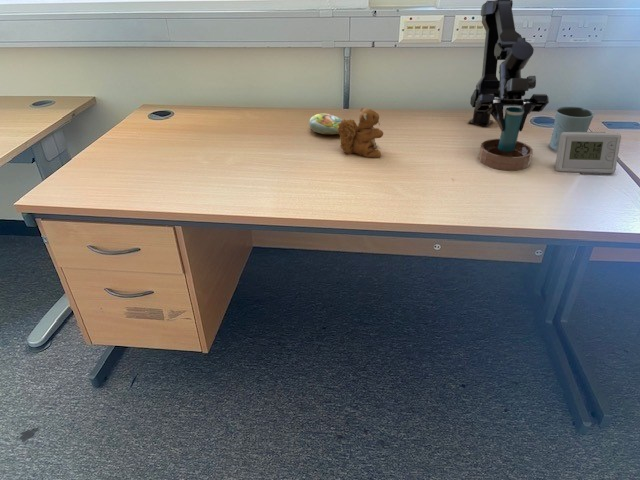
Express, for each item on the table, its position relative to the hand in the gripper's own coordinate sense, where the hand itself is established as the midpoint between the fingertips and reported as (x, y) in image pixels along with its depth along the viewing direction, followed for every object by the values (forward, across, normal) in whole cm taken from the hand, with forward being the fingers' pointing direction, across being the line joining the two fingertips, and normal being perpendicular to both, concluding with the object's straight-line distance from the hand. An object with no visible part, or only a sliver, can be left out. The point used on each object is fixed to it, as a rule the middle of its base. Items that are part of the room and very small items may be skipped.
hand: (511, 130), depth 129 cm
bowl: (+6, 0, +8) cm, 10 cm away
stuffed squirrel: (+2, -43, +13) cm, 45 cm away
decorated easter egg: (-10, -54, +25) cm, 60 cm away
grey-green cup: (-1, +21, +16) cm, 26 cm away
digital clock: (+10, +20, +5) cm, 23 cm away
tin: (+3, 0, +5) cm, 6 cm away
